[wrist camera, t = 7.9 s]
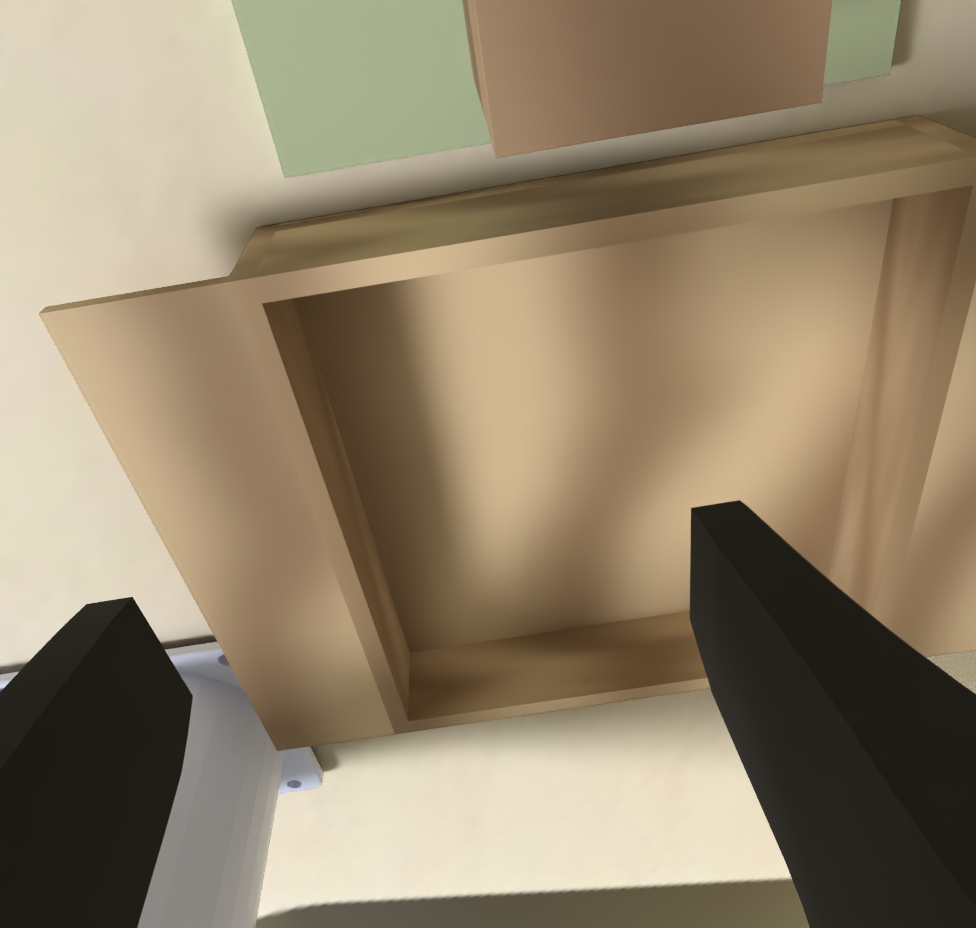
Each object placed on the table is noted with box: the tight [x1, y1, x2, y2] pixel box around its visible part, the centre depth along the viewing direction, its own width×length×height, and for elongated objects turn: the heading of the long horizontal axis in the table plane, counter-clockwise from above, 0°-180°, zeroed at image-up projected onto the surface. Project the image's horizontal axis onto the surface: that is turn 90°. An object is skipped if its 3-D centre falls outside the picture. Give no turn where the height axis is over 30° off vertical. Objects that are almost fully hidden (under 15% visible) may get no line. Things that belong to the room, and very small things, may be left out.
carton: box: [39, 115, 976, 751], centre depth 19 cm, size 21×14×3 cm, turn 98°
